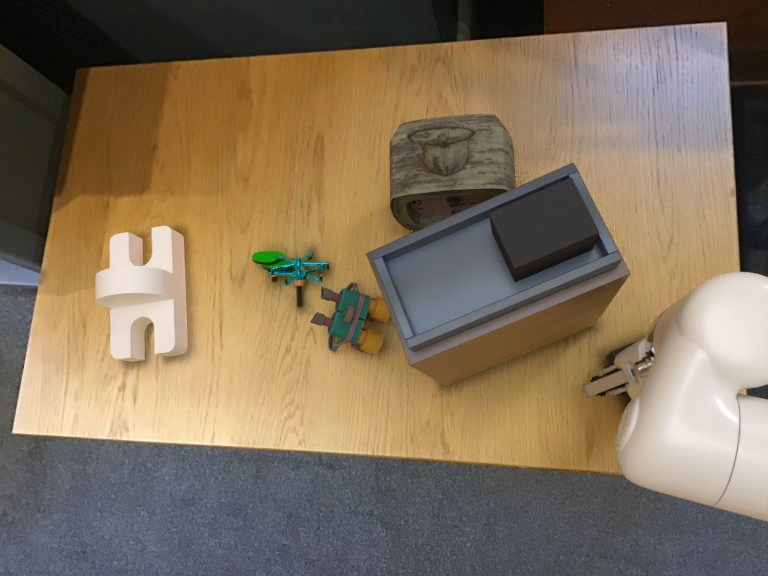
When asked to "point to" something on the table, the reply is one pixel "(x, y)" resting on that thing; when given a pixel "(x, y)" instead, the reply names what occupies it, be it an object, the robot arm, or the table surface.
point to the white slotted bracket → (145, 294)
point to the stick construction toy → (278, 262)
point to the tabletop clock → (448, 167)
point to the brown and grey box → (489, 289)
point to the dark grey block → (543, 229)
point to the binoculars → (353, 319)
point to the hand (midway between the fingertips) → (656, 363)
